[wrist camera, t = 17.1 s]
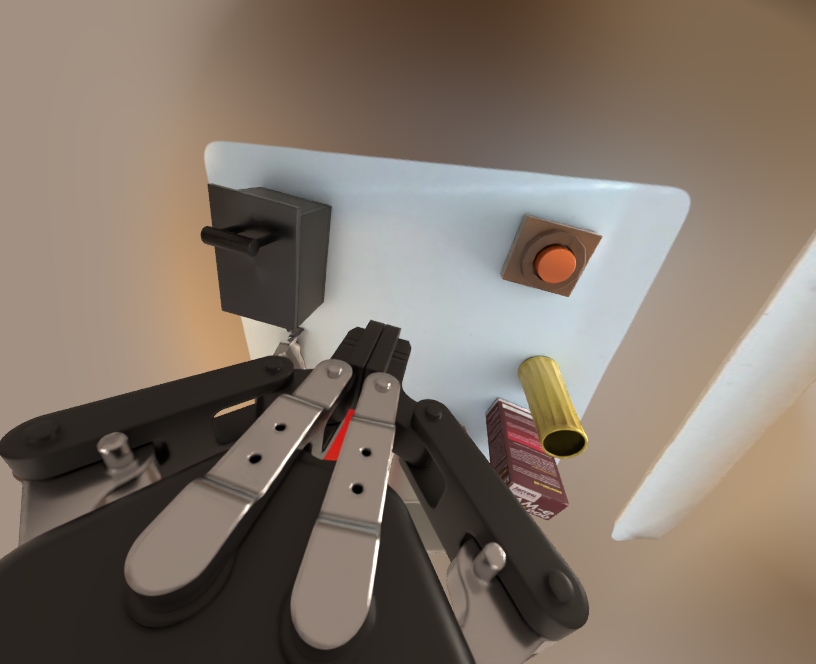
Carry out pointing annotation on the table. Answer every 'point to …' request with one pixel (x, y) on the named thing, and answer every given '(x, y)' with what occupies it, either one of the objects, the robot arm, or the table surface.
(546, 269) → the button
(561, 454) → the vase
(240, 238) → the black box lid
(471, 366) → the table surface
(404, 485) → the planter
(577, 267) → the control block
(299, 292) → the box
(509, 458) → the supplement box
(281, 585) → the robot arm
